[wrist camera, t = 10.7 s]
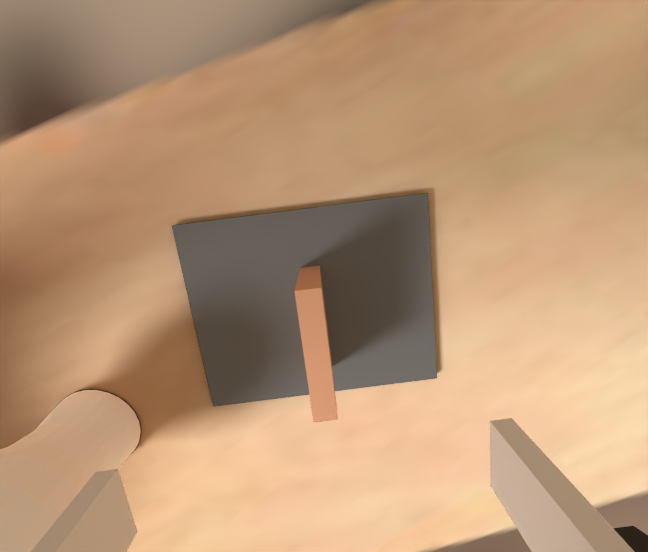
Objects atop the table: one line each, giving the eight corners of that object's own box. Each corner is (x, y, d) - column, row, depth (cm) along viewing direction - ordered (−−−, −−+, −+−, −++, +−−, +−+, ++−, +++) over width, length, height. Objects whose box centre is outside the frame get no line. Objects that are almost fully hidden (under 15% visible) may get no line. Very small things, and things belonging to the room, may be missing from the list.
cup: (119, 356, 28) (-100, 528, 13) (178, 452, 30) (47, 689, 15) (13, 400, 28) (-309, 610, 14) (78, 490, 31) (-138, 753, 16)
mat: (215, 402, 29) (213, 406, 28) (175, 225, 25) (171, 225, 25) (434, 374, 29) (437, 378, 28) (425, 193, 25) (427, 193, 25)
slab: (313, 368, 28) (313, 422, 21) (299, 267, 26) (294, 290, 19) (332, 366, 28) (337, 419, 21) (319, 265, 26) (321, 287, 19)
